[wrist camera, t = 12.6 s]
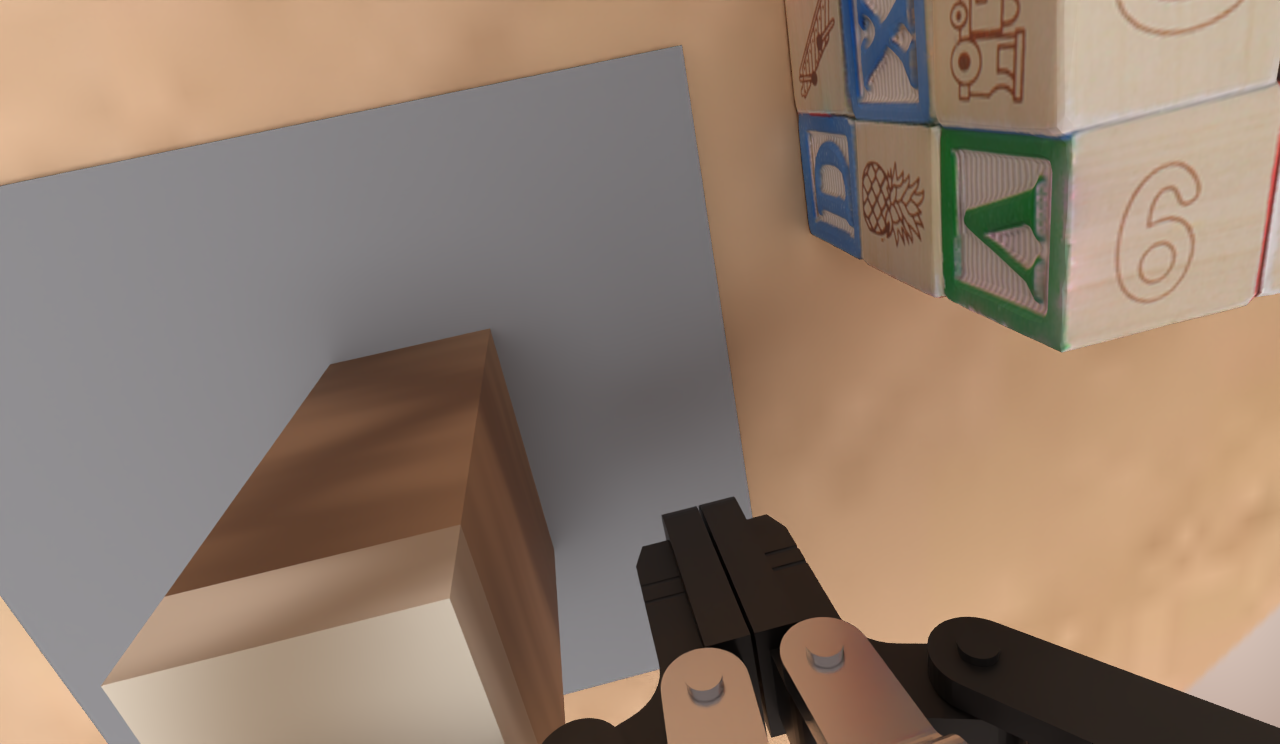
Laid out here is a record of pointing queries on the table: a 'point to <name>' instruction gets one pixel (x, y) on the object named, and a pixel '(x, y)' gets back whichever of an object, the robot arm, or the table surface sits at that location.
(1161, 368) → the table surface
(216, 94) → the table surface
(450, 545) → the walnut block
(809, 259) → the table surface
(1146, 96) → the stack of blocks
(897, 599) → the table surface
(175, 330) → the mat
